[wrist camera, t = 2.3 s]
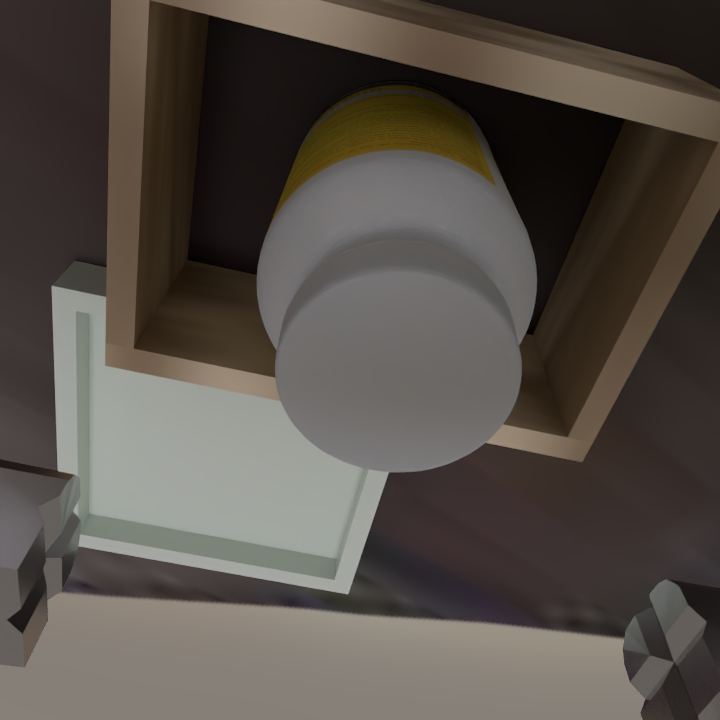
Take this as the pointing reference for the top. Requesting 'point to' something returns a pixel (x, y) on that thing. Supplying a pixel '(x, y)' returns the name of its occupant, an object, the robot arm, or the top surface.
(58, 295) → the sage tray
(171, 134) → the beech box
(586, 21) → the top surface
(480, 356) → the pill bottle
